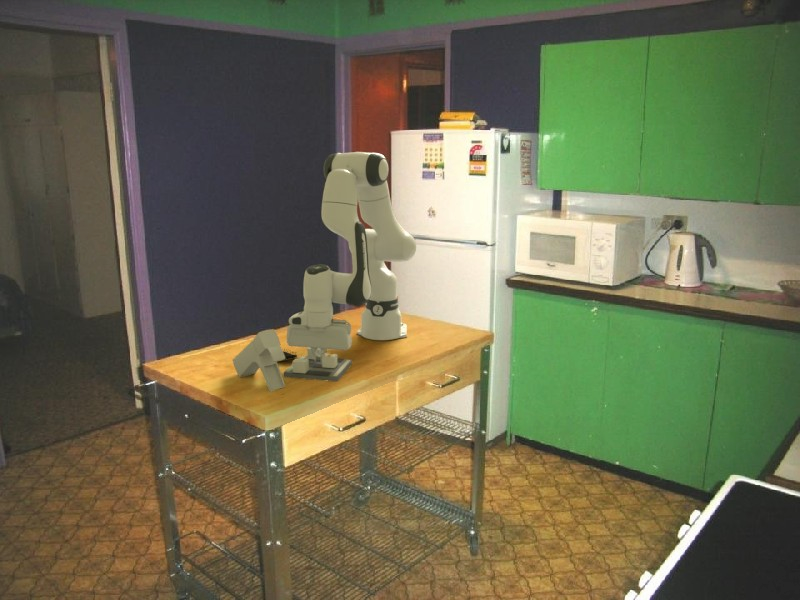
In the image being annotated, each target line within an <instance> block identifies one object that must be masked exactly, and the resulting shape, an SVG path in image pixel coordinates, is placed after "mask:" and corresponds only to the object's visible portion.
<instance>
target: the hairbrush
mask: <svg viewBox="0 0 800 600" xmlns="http://www.w3.org/2000/svg"><path fill="white" fill-rule="evenodd" d="M281 349H282V351H283V353H284V355H285V359H284V360H280V361H286V360H292V359H296V358H298V355H297V351H291V350H289V349H288V350H287V349H286V348H281ZM280 361H279V362H280Z"/></svg>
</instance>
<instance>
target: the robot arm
mask: <svg viewBox="0 0 800 600" xmlns="http://www.w3.org/2000/svg"><path fill="white" fill-rule="evenodd" d="M389 173H390V165H389V161H388V160H387V158H386V157H385V156H384V155H383V154H382V153H378V152H364V151H355V152H342V153H341V152H336V153H335V152H334V153H332V154H329V155H328V156H327V158H326V159H325V160H324V163H323V175H324V178H325V180H326V181H325V183H324V188H323V194H322V201H321V215H320V216H321V220H322V223H323V224H324V226H325V227H326V228H327V229H328V230H329V231H331V232H333V233H334V234H335V235H338V236H340V237H342V238H343V239H345V240H346V241H347V242H348V248H349V252H350V253H351V263H352V272H351V273H347V272H346V273H345V272H339V271H335V270H334V271H333V270H331V268H330V266H329V265H327V264H320V263H319V264H315V265H314V264H313V265H310V266H308V267H307V268H306V269H305V272H304V277H303V285H302V286H303V299H304V306H303V311H300V312H297V313H295V314H293V315H291V317H289V318H288V323H289V325H288V326H287V329H286V344H287V345H288V346H289V347H296V348H297V347H298V348H299V347H301V348H308V347H309V348H311V352H312V353H313V355H314V356H315V361H318V362H322V356H323V355H324V354H327V351H328V350H332V351H333V350H334V351H335V350H336V351H348V350H349V349H350V348H351V347H352V335H351V333H352V324H351V323H350V322H349V321H348V320H346V319H335V318H334V307H333V304H332V303H334V304H340V305H341V304H344V305H348V306H351V307H356V308H359V307H361V306H364V305H365V306H364V307H365V309H364V310H363V311H362V312H361V316H360V329H358V330H357V331H356V335H358V336H361V337H363V338H365V339H367V340H373V341H389V340H395V339H400V338H407V337H408V333H407V332H408V325H407V324H406V323H403V322H402V313H401V312H402V311H400V309H399V295H398V278H397V275H395V273H394V272H392V271H391V270H390V269H389V268H388V267H387V265H386V264H385V262H388V263H389V262H391V263H401V262H403V263H404V262H409V261H411V260H412V259H413V257H414V256H415V254H416V252H417V242H416V240H415V238H414V236H413V235H412V234H410V233H409V232H408V231H406V229H404V228H403V227H402V225H401V224H400V223H399V221H398V220H397V218H396V216H395V213H394V209H393V205H392V201H391V197H390V195H391V194H390V189H389V184H388V177H389V175H390V174H389ZM358 207H359V213H360V218H361V219H362V221H363V222H364V223H365V224H367V225H368V226H369V227H371V228H366V227H365V225H364V224H363V223H362V222H361V221H360V219H359V216H358V215H359V214H358ZM317 348H321V352H322V354H321V355H318V353H317V351H316V350H317Z"/></svg>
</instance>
